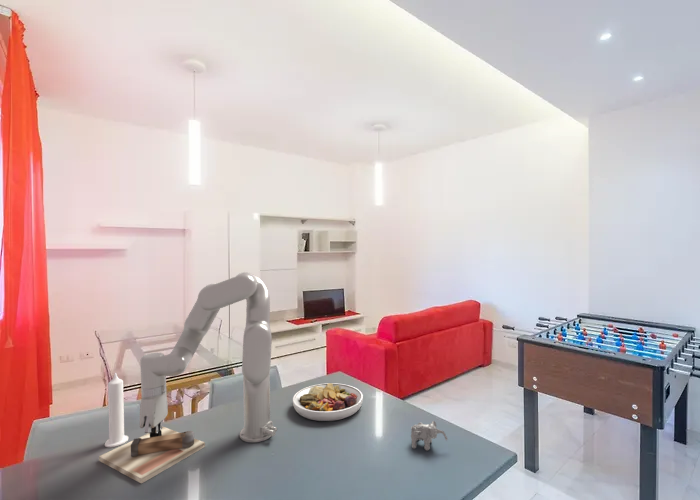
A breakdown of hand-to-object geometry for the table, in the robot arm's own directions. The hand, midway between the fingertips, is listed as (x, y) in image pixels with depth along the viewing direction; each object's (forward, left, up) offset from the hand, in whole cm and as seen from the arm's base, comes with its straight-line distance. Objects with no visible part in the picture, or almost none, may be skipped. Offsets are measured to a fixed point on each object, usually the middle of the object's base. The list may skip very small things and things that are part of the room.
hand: (156, 442), depth 123 cm
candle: (+17, +4, -2) cm, 18 cm away
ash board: (-2, +2, -2) cm, 4 cm away
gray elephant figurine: (-82, -46, -2) cm, 94 cm away
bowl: (-35, -55, -3) cm, 65 cm away
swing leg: (-5, 0, 0) cm, 5 cm away
